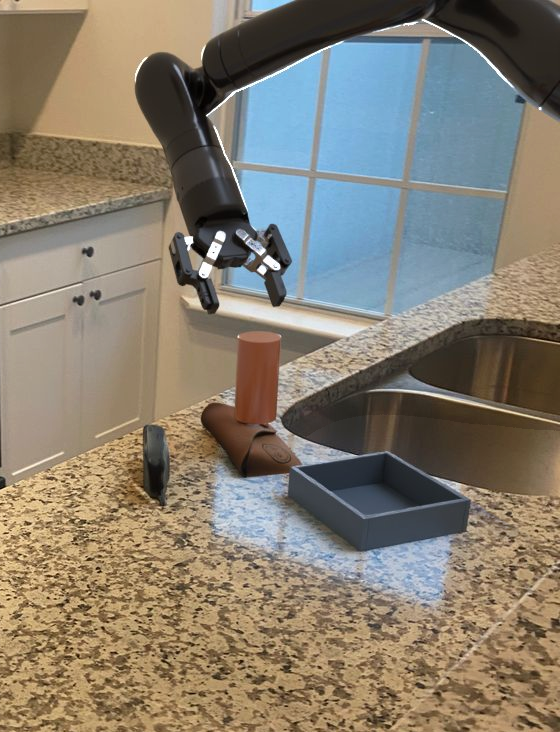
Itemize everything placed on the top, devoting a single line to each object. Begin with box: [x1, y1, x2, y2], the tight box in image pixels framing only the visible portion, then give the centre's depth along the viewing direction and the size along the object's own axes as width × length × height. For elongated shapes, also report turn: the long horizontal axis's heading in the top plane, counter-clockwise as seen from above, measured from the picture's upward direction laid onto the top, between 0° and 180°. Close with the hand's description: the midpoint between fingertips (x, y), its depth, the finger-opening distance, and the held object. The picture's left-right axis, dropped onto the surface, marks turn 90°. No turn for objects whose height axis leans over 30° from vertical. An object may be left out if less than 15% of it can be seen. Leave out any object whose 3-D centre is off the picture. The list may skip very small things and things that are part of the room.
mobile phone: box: [142, 423, 171, 507], centre depth 117 cm, size 5×3×15 cm
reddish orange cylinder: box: [234, 330, 282, 424], centre depth 122 cm, size 5×5×10 cm
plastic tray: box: [287, 450, 472, 553], centre depth 107 cm, size 12×14×4 cm
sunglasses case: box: [200, 402, 303, 479], centre depth 125 cm, size 18×7×7 cm
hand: (247, 306), depth 122 cm, fingers open, 8 cm apart
